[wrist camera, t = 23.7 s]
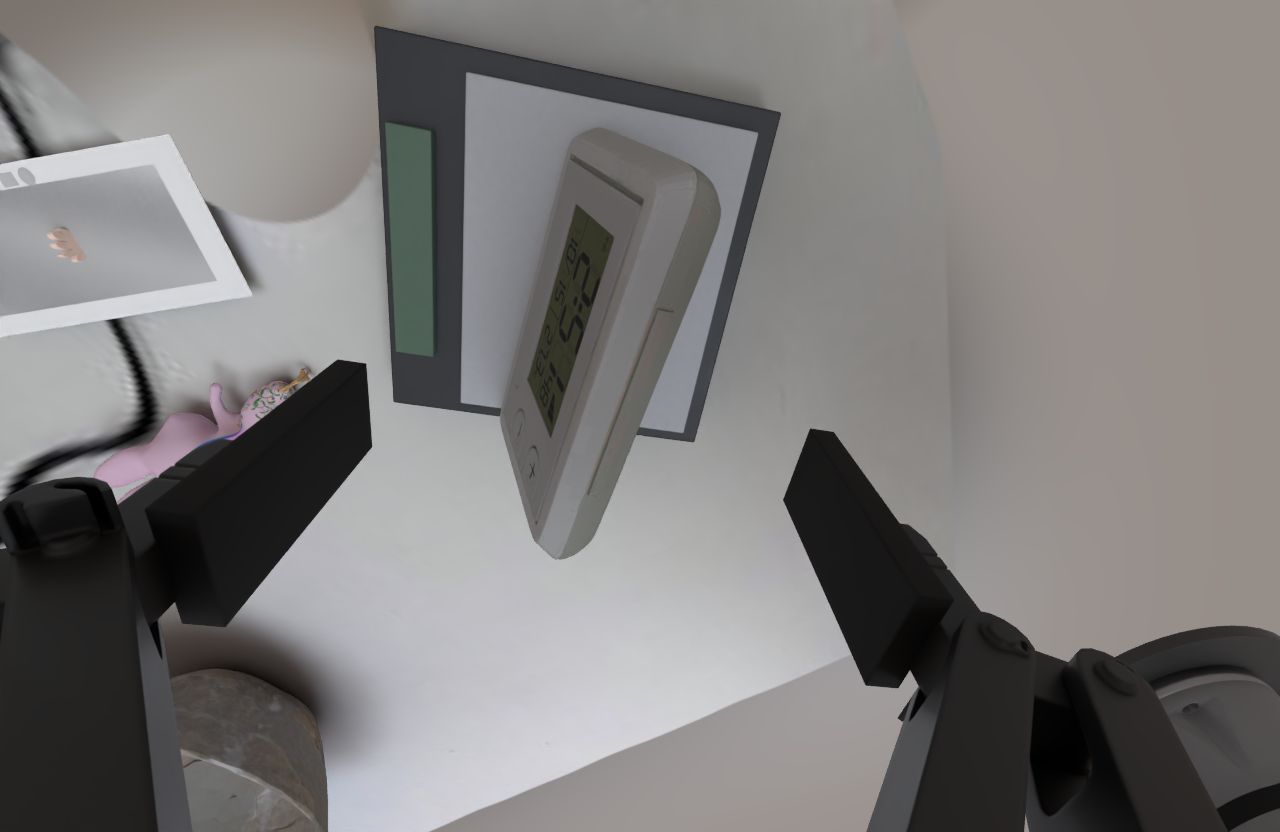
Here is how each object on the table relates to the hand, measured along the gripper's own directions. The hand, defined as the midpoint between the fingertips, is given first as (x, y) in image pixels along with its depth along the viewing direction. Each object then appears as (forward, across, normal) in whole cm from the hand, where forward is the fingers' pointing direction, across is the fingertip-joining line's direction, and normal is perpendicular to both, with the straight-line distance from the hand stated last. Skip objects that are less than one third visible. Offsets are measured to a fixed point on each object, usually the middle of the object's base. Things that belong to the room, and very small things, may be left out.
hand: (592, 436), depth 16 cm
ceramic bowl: (+17, -26, -42) cm, 52 cm away
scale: (+16, -2, +1) cm, 17 cm away
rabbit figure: (+16, -22, -13) cm, 31 cm away
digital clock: (+13, -1, 0) cm, 13 cm away
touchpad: (+16, -27, -2) cm, 32 cm away
